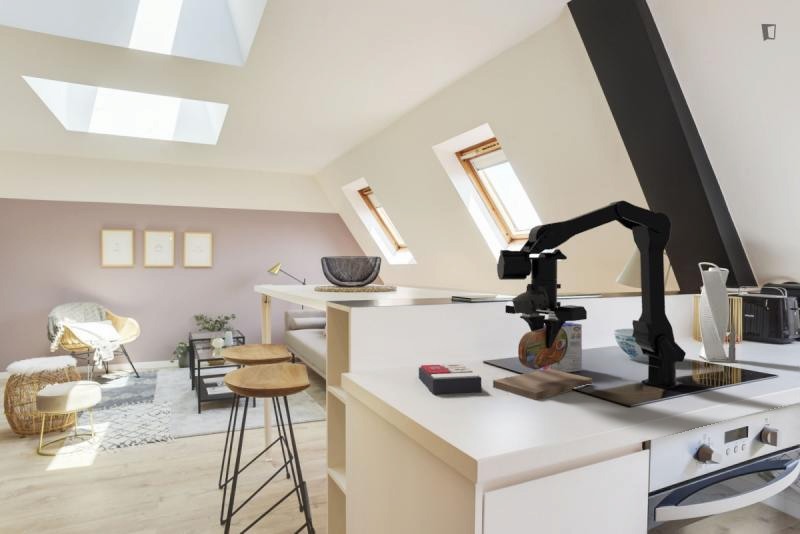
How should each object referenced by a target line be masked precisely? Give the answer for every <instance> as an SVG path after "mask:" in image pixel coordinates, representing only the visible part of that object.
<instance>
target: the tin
mask: <svg viewBox="0 0 800 534" xmlns="http://www.w3.org/2000/svg"><path fill="white" fill-rule="evenodd" d="M567 346H568V338H567V334H566V332H565V331H564V330H563V329H562V328H561V329H560V331H559V333H558V335H557V337H556V339H555V341H554V343H553V345H552V347H551V348H550V349H547V347H546V327H545V328H542V329H538V330H535V331H531V330H530V331H528V332H526V333H524V334H523V336H522V337H520V341H519V343H518V349H517V351H518V353H517V354H518V361H519V363H520V364H521V365H522V366H524V367H525V368H528V369H531V370H535V371H538V370H540V368H543V367H546V366H549V365H552V364H555V363H558V362H560V361H561V360H562V359H563V357H564V356H565V354H566V351H567Z"/></svg>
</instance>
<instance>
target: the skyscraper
mask: <svg viewBox="0 0 800 534" xmlns="http://www.w3.org/2000/svg"><path fill="white" fill-rule="evenodd" d="M702 265H708V266H713V267H709V268H708V270H703V267H702ZM698 267H699V270H700V273H701V277H702V283H703V286H702V289H701V294H700V296H699V298H700V299H699V304H698V305H699V308H698V320H699V331H700V337H701V341H702V347H701V349H700V351H699V354H698V357H699V358H700V359H702V360H705V361H707V362H710V363H725V364H726V363H727V364H729V363H730V364H737V363H738V360H736V332H735V323H734V318H735V317H733V316H732V317H731V323H730V300H729V299H730V298H729V297H730V296H729V294H728V289H727V285H726V283H727V280H728V275H729V273H730V271H729V269H728V268H722V267H719V266H718V265H717V264H715V263H712V262H707V261H706V262H699V263H698ZM729 323H730V332H729V338H728V339H729V340H728V342H729V343H728V357H727V354H726V351H725V348H724V344H725V340H726V337H727V332H728V330H729V329H728V327H729Z"/></svg>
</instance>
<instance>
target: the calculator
mask: <svg viewBox="0 0 800 534" xmlns="http://www.w3.org/2000/svg"><path fill="white" fill-rule="evenodd" d="M418 380H420V381H421V382H422V384H423V385H425V387H426V388H428V390H429V392H430V393H431V394H432V395H433V396H443V395H462V394H464V395H465V394H477V393H478V394H480V393H482V377H481V376H480V375H479V374H477V373H475V372H474V371H473V370H471V369H470V368H468V367H466V365H465V366H464V365H462V364H461V363H445V364H441V365H440V364H422V365H420V367H418Z"/></svg>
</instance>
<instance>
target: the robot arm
mask: <svg viewBox="0 0 800 534" xmlns="http://www.w3.org/2000/svg"><path fill="white" fill-rule="evenodd" d="M615 221H616V222H618V223H619V224H620V225H622V227H624V228H627V229H628V230H630V231H631V232H632V237H633V241H634V243H635V246H636V248H638V251H639V254H640V255H639V256H640V259H639V260H640V286H641V287H640V289H641V290H640V291H641V314H640V316H639V318H638V320H636V319H633V320H632V329H633V335H632V337H635V341H636V343H637V344H638V345H639V346H640V347H641V350H642V353H643V354H644V355H648V356H649V358H648V365H647V366H648V367H647V368H648V369H647V379H643V380H641V384H647V385H651V386H655V387H659V388H663V389H668V390H671V389H673V388H677V387H679V386H682V385H683V382H682V381H678V380H677V363H679V362H680V363H681V362H682V363H683V362H684V360H685V357H686V354H687V353H686V352H685V350H684V349H683V348H682V347H681V346H680V345H679V344H678V343H677V342H676V340H675V335H674V331H673V326H672V324H671V322H670V320H669V318H668V316H667V315H666V302H665V301H666V295H665V293H666V291H665V289H666V288H665V259H664V257H665V256H664V251H665V250H666V247H667V245H668V243H669V241H670V239H671V238H670V237H671V232H672V231H671V230H672V220H671V218H670V217H668V215H667V214H665V213H664V212H658V211H657V212H654V211H652V210H650V209H647V208H645V207H644V208H643V207H641V206H638V205H635V204H632V203H631V202H628V201H626V200H618V201H614V202H610V203H609V204H608V205H604V206H603V207H600V208H597V209H594V210H592V211H589V212H586V213H583V214H580V215H578V216H575V217H572V218H570V219H567V220H562V221H558V222H557V221H556V222H550V223H545V224H539V225H536V226H534V227H532V228H531V229H530V231H529V234H528V236H527V237H528V239H527V241H526V242H525V243H524V244H523V246H522V247H521V249H520V250H508V249H500V251H499V257H498V259H497V260H498V261H497V264H496V273H497V277H498V279H499V280H500V281H503V280H505V281H507V280H508V281H509V280H510V281H512V280H513V281H516V280H520V281H521V280H522V281H523V280H526V279H527V277H528V276H530V283H527V285H526V291H524V292H522V293H520V294H518V295H517V296H515V297H513V298H512V300H509V301H507V302H506V304H505V314H512V315H515V314H521V315H520V316H519V318H520V319H521V320H522V319H523V320H524V321H525V322H526V323H527V325H528V327H529V329H530V332H531V331H535V330H538V329H542V328H544V324H545V325H546V347H547V349H550V348H551V347H552V345H553V343H554V341H555V339H556V337H557V335H558V333H559V331H560V329H561V328H562V326H563V324H564V323H565V322H576V321H583V320H587V318H588V317H587V315H588V314H587V313H588V312H587V310H586V308H585V307H584V306H582V305H571V304H570V305H562V304H561V303H562V302H561V301H558V290H559V289H561V287H562V284H561V283H558V260H559V261H560V260H562V261H563V260H567V259H568V256H566V255H565V254H564V253H563V252H562V251H561V249H558V247H560V246H561V245H563V244H564V243H566V242H568V241H569V240H570V239H571V238H572V237H575V236H576V235H579V234H582V233H585V232H587V231H590V230H592V229H596V228H597V227H601V226H603V225H606V224H609V223H611V222H615ZM553 249H554V250H553ZM549 250H550V251H551V250H553V252H544V251H549ZM530 255H538V256H536V257H535V256H532V257H530ZM546 315H548V318H546Z"/></svg>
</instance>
